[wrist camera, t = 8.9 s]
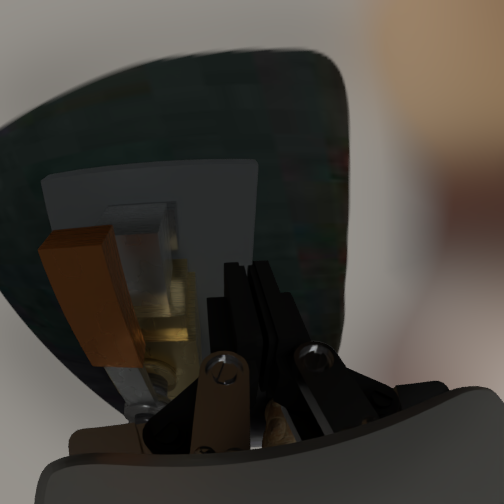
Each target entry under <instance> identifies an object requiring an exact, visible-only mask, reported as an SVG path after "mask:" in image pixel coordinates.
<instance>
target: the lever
mask: <svg viewBox="0 0 504 504" xmlns="http://www.w3.org/2000/svg"><path fill="white" fill-rule="evenodd" d="M38 252H39V255H40V258H41V260H42V263H43V266H44V268H45V271H46V273H47V276H48V278H49V281H50V283H51V286H52V288H53V290H54V293H55V295H56V297H57V299H58V302H59V304H60V306H61V308H62V310H63V312H64V314H65V316H66V318H67V320H68V322H69V324H70V326H71V328H72V330H73V332H74V334H75V336H76V338H77V340H78V341H79V343H80V345H81V347H82V349H83V350H84V352H85V354H86V356H87V357H88V359H89V361H90V362H91V364H92V366H100V367H105V369H106V371H107V372H108V374H109V376H110V377H111V379H112V381H113V382H114V384H115V386H116V387H117V389H118V390H119V392H120V393H121V395H122V396H123V398H124V399H125V408H124V416H125V418H126V419H128V420H129V421H130V422H132V423H134V422H135V424H136V425H137V424H143V423H147V421H148V420H149V419H150V418H151V417H153V416H154V415H155V414H156V413H158V412H159V411H160V410H161V409H162V408H163V407H165V406H166V405H167V404H168V403H169V402H171V400H170V399H169V398H167V397H165V396H163V395H161V394H157V393H156V391H155V389H154V387H153V385H152V382H151V380H150V378H149V376H148V373H147V371H146V369H145V367H144V356H145V347H146V344H145V341H144V338H143V335H142V332H141V329H140V326H139V323H138V320H137V317H136V314H135V311H134V307H133V304H132V301H131V297H130V294H129V290H128V287H127V283H126V279H125V276H124V272H123V268H122V264H121V260H120V256H119V252H118V247H117V243H116V238H115V234H114V229H113V225H102V226H91V227H80V228H69V229H59V230H53V231H52V233H51V234H50V235H49V236H48V237H47V239H46V240H45V241H44V243H43V244H42V245H41V246H40V248H39V249H38Z"/></svg>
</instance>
